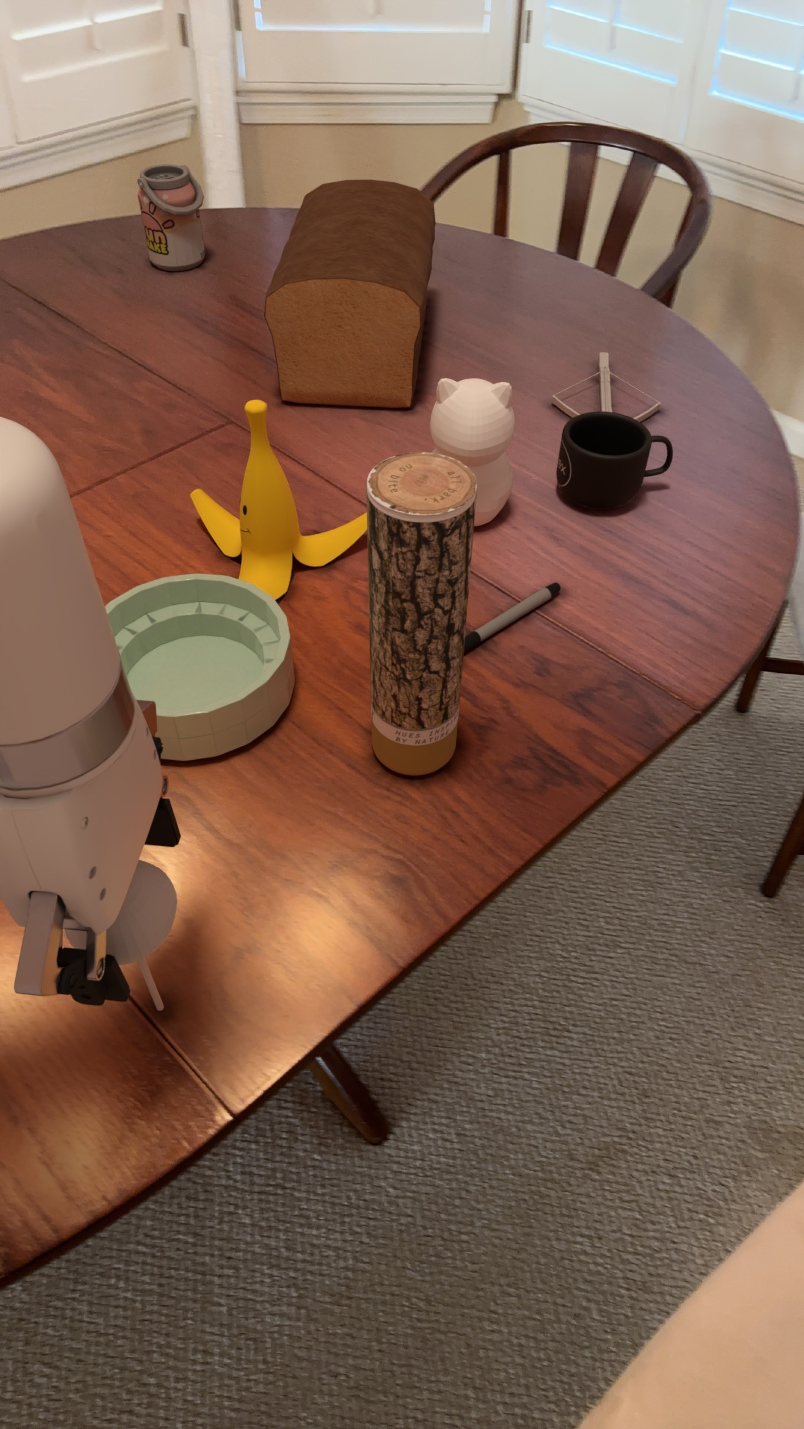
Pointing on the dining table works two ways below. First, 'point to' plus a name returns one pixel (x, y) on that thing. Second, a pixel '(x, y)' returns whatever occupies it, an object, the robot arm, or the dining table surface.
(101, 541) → the dining table surface
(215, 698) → the bowl
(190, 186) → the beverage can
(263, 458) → the banana peel
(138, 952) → the lollipop
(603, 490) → the mug
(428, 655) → the paper tube
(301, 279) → the bread
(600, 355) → the crossbow
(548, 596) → the pen
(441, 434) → the cat figurine
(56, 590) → the robot arm
